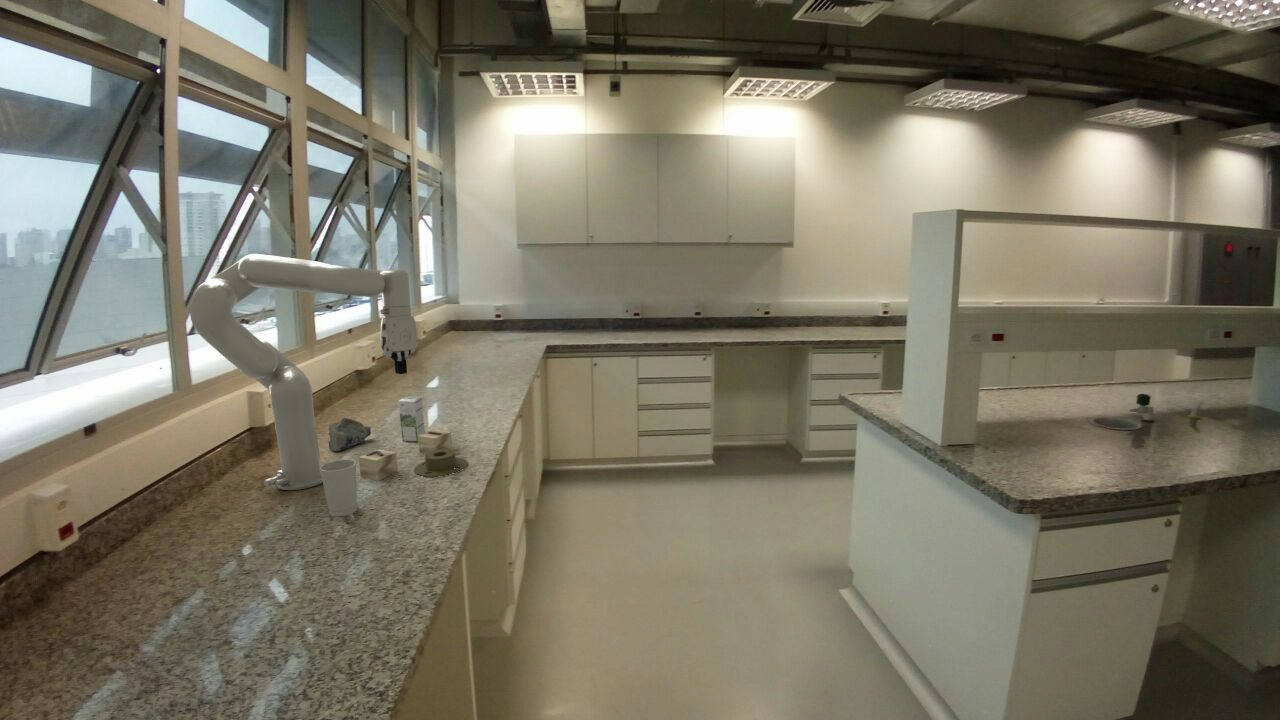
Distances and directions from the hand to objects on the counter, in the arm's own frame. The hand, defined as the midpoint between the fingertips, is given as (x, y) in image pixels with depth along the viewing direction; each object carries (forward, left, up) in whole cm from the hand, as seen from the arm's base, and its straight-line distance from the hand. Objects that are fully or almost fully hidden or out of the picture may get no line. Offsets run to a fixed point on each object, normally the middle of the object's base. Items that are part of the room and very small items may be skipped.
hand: (401, 373), depth 175 cm
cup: (-33, -13, -28) cm, 45 cm away
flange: (-1, -14, -28) cm, 31 cm away
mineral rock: (+2, +29, -28) cm, 40 cm away
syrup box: (+15, +14, -28) cm, 35 cm away
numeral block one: (+9, -2, -28) cm, 29 cm away
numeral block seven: (-12, -1, -28) cm, 30 cm away
